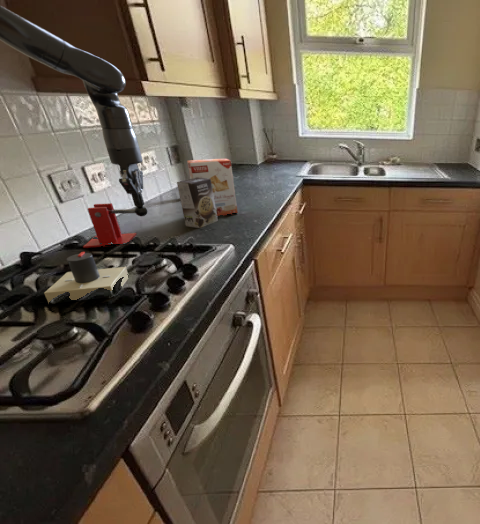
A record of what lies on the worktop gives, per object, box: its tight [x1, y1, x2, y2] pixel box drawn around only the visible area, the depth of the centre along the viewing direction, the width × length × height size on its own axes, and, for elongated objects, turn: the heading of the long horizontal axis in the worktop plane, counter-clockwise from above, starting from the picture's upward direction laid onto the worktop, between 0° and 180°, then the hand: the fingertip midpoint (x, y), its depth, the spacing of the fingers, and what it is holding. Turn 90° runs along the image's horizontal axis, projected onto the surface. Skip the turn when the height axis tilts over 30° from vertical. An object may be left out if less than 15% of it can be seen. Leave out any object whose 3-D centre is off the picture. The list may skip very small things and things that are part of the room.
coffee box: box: [176, 178, 219, 229], centre depth 115 cm, size 9×6×16 cm
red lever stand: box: [82, 202, 138, 249], centre depth 99 cm, size 11×9×12 cm
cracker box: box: [186, 158, 239, 217], centre depth 126 cm, size 14×6×21 cm, turn 126°
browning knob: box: [66, 251, 100, 283], centre depth 74 cm, size 4×4×6 cm
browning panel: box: [43, 266, 129, 304], centre depth 76 cm, size 12×10×3 cm
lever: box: [107, 205, 148, 217], centre depth 99 cm, size 13×3×3 cm, turn 107°
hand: (139, 205), depth 100 cm, fingers closed
